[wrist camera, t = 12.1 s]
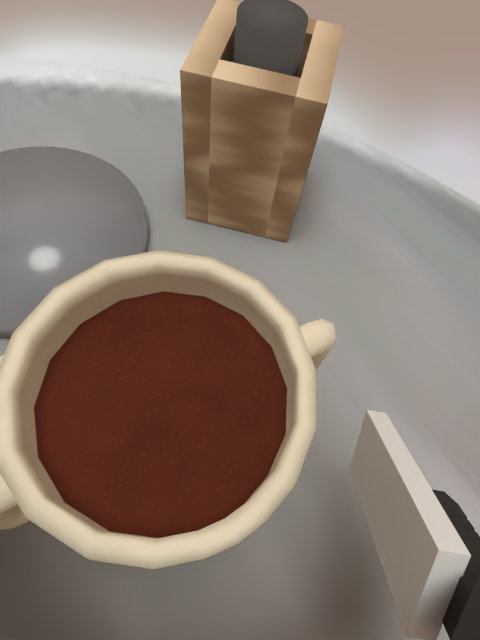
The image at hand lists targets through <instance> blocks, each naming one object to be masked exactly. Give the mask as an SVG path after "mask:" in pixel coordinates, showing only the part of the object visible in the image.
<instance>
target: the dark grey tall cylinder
mask: <svg viewBox="0 0 480 640" xmlns="http://www.w3.org/2000/svg"><path fill="white" fill-rule="evenodd" d="M307 25H308V16H307V14H306V12H305V11H304V10H303V9H302V8H301V7H300V6H298V5H297V4H295V3H293V2H291V1H289V0H245V1H243V2H242V3H240V4H239V6H238V8H237V16H236V30H235V44H234V58H233V63H238V64H242V65H246V66H251V67H255V68H259V69H264V70H268V71H272V72H277V73H281V74H285V75H290V76H294V77H297V72H298V67H299V63H300V58H301V53H302V48H303V44H304V39H305V34H306V29H307Z"/></svg>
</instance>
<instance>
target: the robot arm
mask: <svg viewBox="0 0 480 640" xmlns="http://www.w3.org/2000/svg"><path fill="white" fill-rule="evenodd" d="M3 356H4V355H2V356H1V357H0V363H1V361H2V358H3ZM350 472H351V475H352V478H353V481H354V484H355V487H356V490H357V493H358V496H359V499H360V502H361V505H362V508H363V511H364V514H365V517H366V520H367V523H368V526H369V529H370V532H371V535H372V538H373V541H374V544H375V547H376V550H377V553H378V556H379V559H380V562H381V564H382V567H383V570H384V573H385V576H386V579H387V582H388V585H389V588H390V591H391V594H392V597H393V600H394V603H395V606H396V609H397V612H398V615H399V618H400V621H401V624H402V627H403V630H404V633H405V636H409V637H415V638H421V639H426V640H436V639H437V636H438V634H439V631H440V629H441V627H442V624H444V626H445V629H446V631H447V633H448V636H449V638H450V640H480V537H479V535H478V534H477V532H475V531H474V528H473V526H472V525H471V523H470V522H469V521H468V520H467V517H466V515H465V514H464V512H463V511H462V509H461V508H460V506H459V505H458V504H457V503H456V502H455V501H454V500H453V499H452V498H451V497H450V496H448V495H447V494H446V493H445V492H443V491H437V490H432V489H431V488H430V486H429V484H428V483H427V481H426V479H425V478H424V476H423V474H422V472H421V471H420V469H419V467H418V466H417V464H416V462H415V461H414V459H413V457H412V456H411V454H410V452H409V451H408V449H407V447H406V446H405V444H404V442H403V441H402V439H401V437H400V436H399V434H398V432H397V431H396V429H395V427H394V426H393V424H392V422H391V421H390V419H389V417H388V416H387V414H386V413H382V412H376V411H371V410H366V414H365V417H364V421H363V424H362V428H361V431H360V435H359V438H358V442H357V445H356V449H355V452H354V455H353V459H352V462H351V466H350Z"/></svg>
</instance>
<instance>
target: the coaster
mask: <svg viewBox="0 0 480 640" xmlns="http://www.w3.org/2000/svg"><path fill="white" fill-rule="evenodd" d="M148 238H149V231H148V224H147V218H146V212H145V207H144V204H143V201H142V198H141V196H140V194H139V193H138V191H137V189H136V187H135V186H134V185H133V183H132V182H131V181H130V180H129V179H128V178H127V177H126V176H125V175H124V174H123V173H122V172H121V171H120V170H118V169H117V168H116V167H114V166H113V165H111V164H109V163H108V162H106V161H104V160H102V159H100V158H98V157H95V156H93V155H90V154H87V153H84V152H80V151H77V150H72V149H66V148H58V147H27V148H18V149H12V150H7V151H3V152H0V338H11V336H12V333H13V332H14V331H15V330H16V329H17V328H18V327H19V325H20V324H21V323H22V322H23V321H24V320H25V319H26V318H27V317H28V316H29V314H30V313H31V312H32V311H33V310H34V309H35V308H36V307H37V306H38V305H39V303H40V302H41V301H42V300H43V299H44V298H45V297H46V296H47V295H48V294H49V292H50V291H51V290H52V289H53V288H54V287H56V286H58V285H60V284H62V283H64V282H65V281H67V280H69V279H71V278H73V277H74V276H76V275H78V274H80V273H82V272H83V271H85V270H87V269H89V268H91V267H93V266H94V265H96V264H98V263H100V262H102V261H103V260H107V259H113V258H118V257H124V256H129V255H135V254H140V253H146V252H147V247H148Z"/></svg>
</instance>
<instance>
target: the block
mask: <svg viewBox="0 0 480 640" xmlns="http://www.w3.org/2000/svg"><path fill="white" fill-rule="evenodd" d="M239 4H240V3H238V2H234V1H229V0H217V2H216V4H215V5H214V8H213V9H212V11H211V13H210V15H209V17H208V19H207V21H206V22H205V24H204V26H203V28H202V30H201V32H200V34H199V36H198V38H197V39H196V41H195V43H194V45H193V47H192V49H191V51H190V53H189V54H188V56H187V58H186V60H185V62H184V64H183V66H182V67H181V69H180V77H181V102H182V126H183V150H184V174H185V198H186V218H188V219H192V220H197V221H201V222H205V223H209V224H213V225H217V226H221V227H225V228H229V229H234V230H238V231H242V232H246V233H250V234H254V235H258V236H262V237H266V238H271V239H275V240H279V241H283V242H287V239H288V236H289V232H290V229H291V226H292V222H293V219H294V216H295V212H296V209H297V205H298V202H299V199H300V195H301V192H302V189H303V185H304V182H305V178H306V175H307V172H308V168H309V165H310V162H311V158H312V155H313V151H314V148H315V145H316V141H317V138H318V135H319V131H320V128H321V124H322V121H323V118H324V114H325V111H326V108H327V104H328V99H329V95H330V90H331V85H332V81H333V76H334V71H335V66H336V62H337V57H338V52H339V48H340V42H341V38H342V33H343V29H344V26H341V25H336V24H332V23H327V22H323V21H319V20H314V19H310V18H308V25H307V29H306V34H305V39H304V44H303V48H302V53H301V58H300V63H299V67H298V72H297V77H294V76H290V75H285V74H281V73H277V72H272V71H268V70H264V69H259V68H255V67H251V66H246V65H242V64H238V63H233V58H234V44H235V30H236V16H237V8H238V6H239Z"/></svg>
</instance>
